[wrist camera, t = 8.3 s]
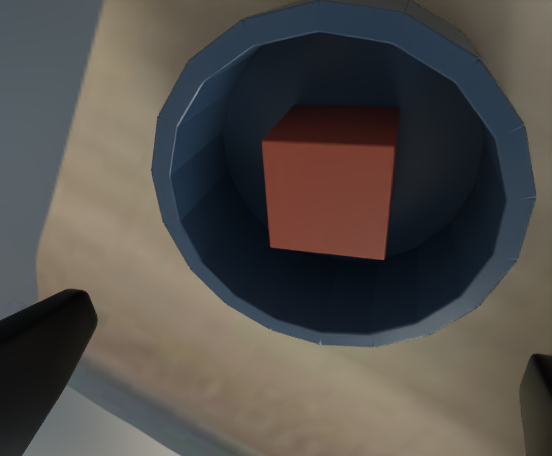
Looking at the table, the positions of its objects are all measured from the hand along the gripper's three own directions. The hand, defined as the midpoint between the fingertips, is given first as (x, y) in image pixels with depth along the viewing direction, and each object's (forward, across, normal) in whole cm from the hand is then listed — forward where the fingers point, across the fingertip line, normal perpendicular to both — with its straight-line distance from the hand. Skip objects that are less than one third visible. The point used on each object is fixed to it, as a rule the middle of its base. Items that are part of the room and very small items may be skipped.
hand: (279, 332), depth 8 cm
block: (+10, 0, 0) cm, 10 cm away
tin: (+10, 0, 0) cm, 10 cm away
